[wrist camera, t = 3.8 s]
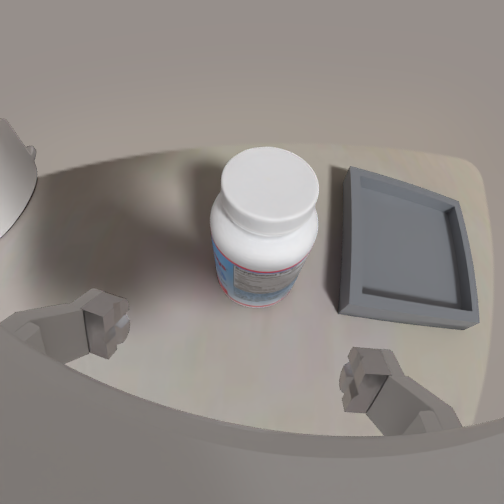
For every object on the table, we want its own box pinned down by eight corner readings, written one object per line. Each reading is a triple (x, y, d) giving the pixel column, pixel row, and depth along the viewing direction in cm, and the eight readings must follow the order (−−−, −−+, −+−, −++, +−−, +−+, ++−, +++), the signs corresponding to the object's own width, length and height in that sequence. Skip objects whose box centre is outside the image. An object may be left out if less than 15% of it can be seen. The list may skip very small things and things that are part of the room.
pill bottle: (223, 238, 24) (216, 132, 14) (294, 245, 24) (329, 145, 14) (212, 306, 21) (190, 225, 11) (292, 314, 21) (340, 241, 11)
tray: (337, 313, 21) (348, 304, 19) (343, 182, 28) (350, 166, 26) (463, 330, 21) (479, 322, 18) (447, 213, 27) (458, 201, 25)
